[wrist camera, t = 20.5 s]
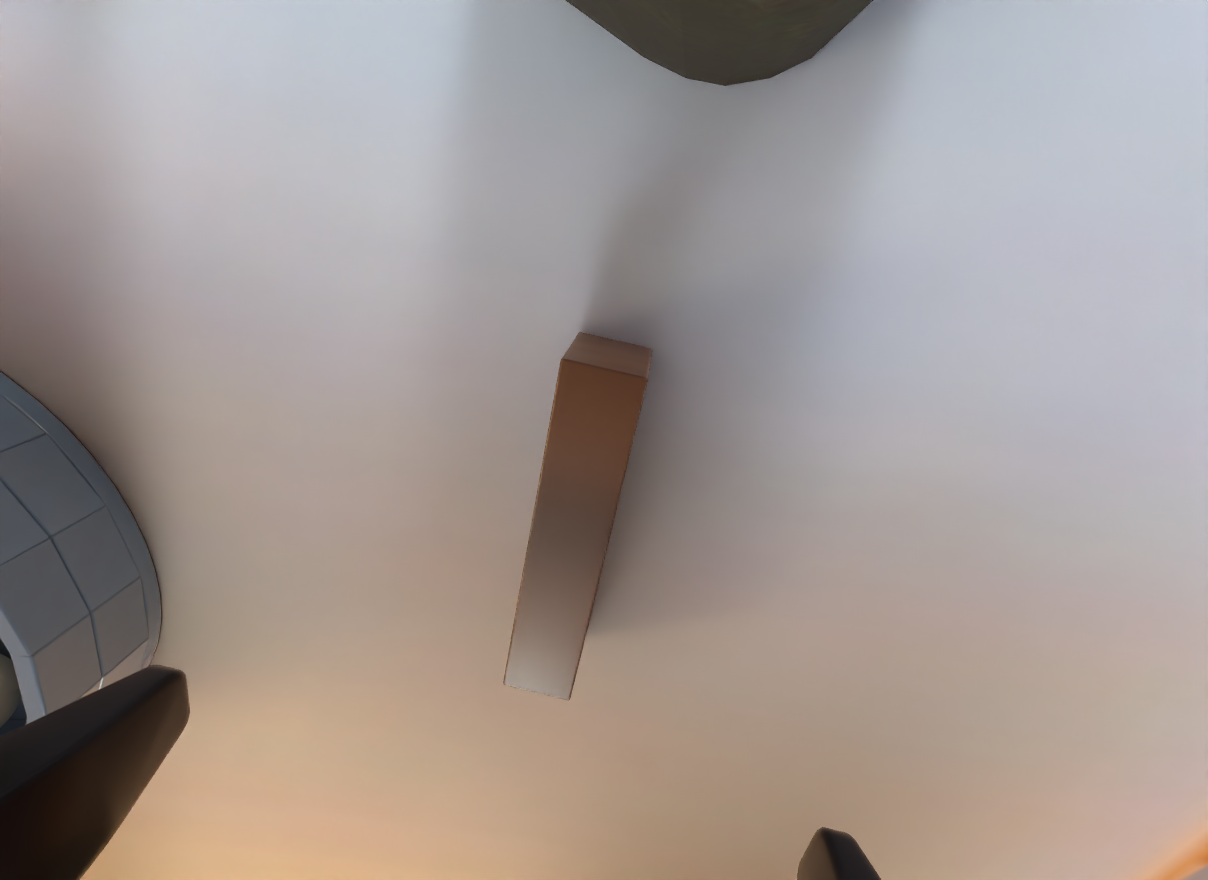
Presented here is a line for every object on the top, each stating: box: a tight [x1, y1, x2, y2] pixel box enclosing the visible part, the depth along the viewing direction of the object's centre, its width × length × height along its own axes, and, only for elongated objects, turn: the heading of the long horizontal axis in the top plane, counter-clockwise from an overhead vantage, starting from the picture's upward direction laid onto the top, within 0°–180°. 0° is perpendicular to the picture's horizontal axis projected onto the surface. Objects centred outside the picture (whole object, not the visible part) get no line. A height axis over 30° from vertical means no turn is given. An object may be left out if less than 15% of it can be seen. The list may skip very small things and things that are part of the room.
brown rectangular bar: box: [503, 332, 652, 700], centre depth 15 cm, size 9×2×2 cm, turn 169°
